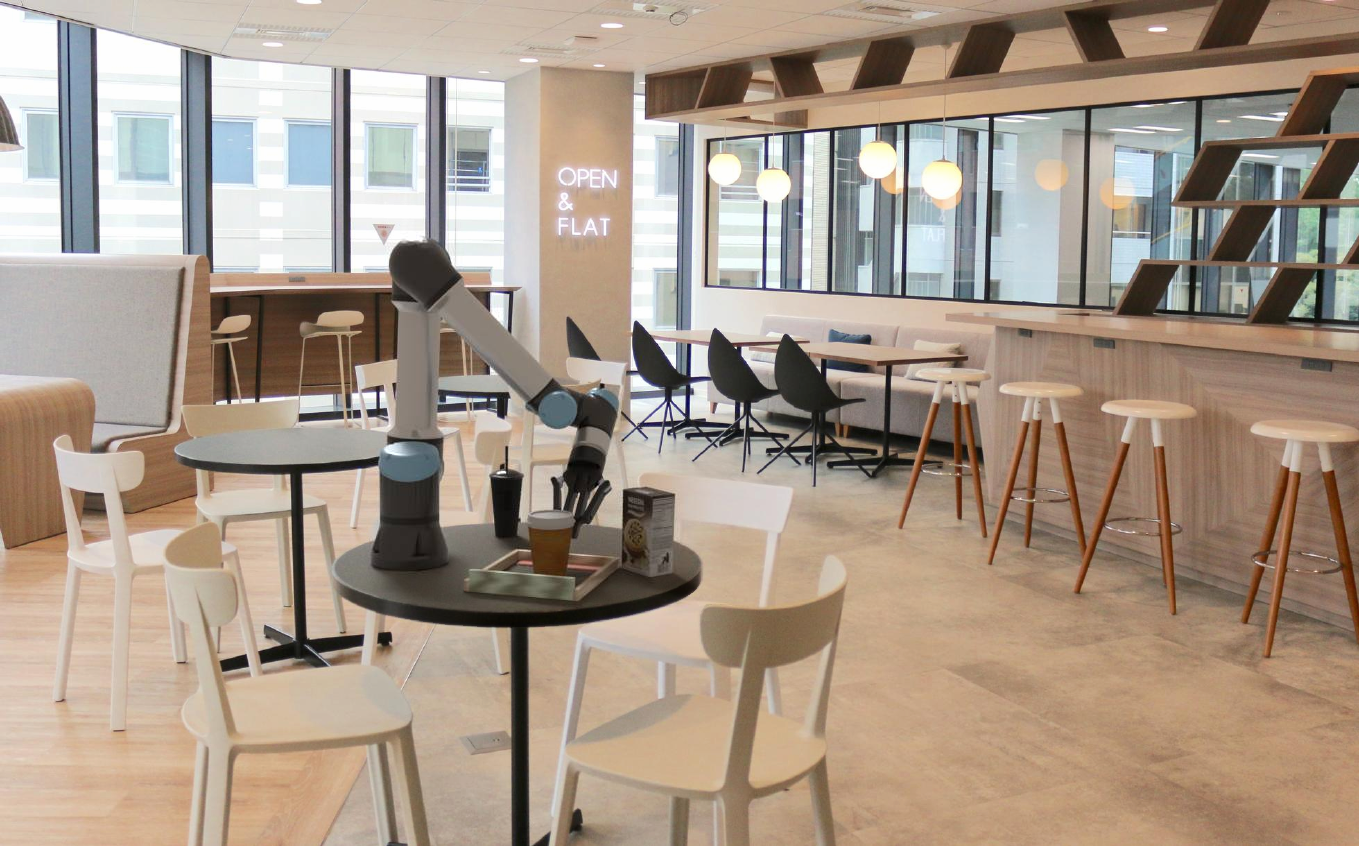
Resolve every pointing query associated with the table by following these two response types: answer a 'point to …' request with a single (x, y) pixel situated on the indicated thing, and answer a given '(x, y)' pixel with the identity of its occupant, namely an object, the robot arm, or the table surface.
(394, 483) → the robot arm
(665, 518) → the coffee box
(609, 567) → the light wooden rectangular frame
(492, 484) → the drinking cup
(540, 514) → the disposable coffee cup
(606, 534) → the table surface
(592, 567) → the mats
